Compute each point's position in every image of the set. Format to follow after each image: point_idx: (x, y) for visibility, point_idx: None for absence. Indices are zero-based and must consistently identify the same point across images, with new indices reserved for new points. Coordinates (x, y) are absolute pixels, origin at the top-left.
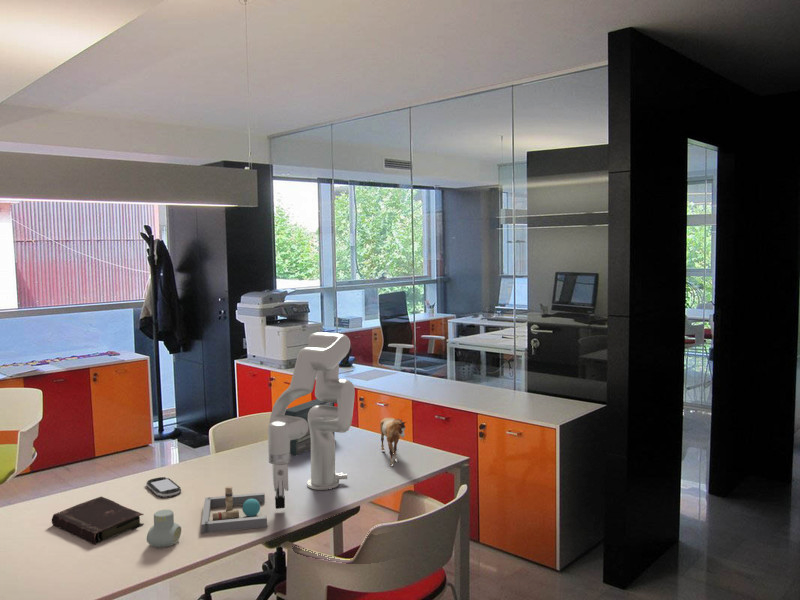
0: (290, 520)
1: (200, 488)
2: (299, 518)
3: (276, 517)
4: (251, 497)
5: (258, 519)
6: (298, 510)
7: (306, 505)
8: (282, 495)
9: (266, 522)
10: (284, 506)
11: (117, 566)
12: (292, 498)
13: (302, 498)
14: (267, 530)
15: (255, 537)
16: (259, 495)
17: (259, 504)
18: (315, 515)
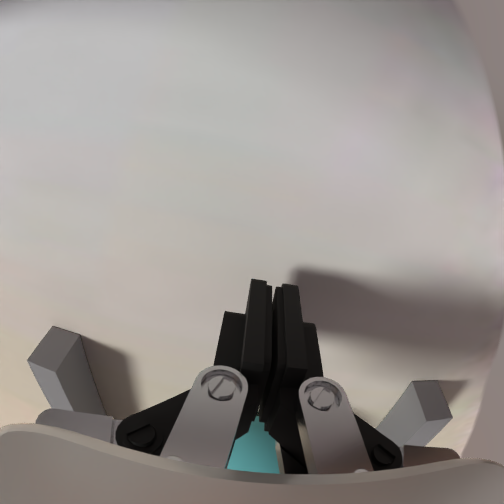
0: (459, 257)
1: (5, 421)
2: (468, 186)
3: (360, 332)
4: (82, 412)
5: (427, 440)
6: (313, 134)
7: (216, 30)
8: (457, 456)
9: (442, 400)
10: (297, 293)
11: None
12: (32, 144)
13: (51, 60)
14: (466, 378)
15: (474, 408)
16: (66, 390)
17: (277, 461)
18: (471, 49)
